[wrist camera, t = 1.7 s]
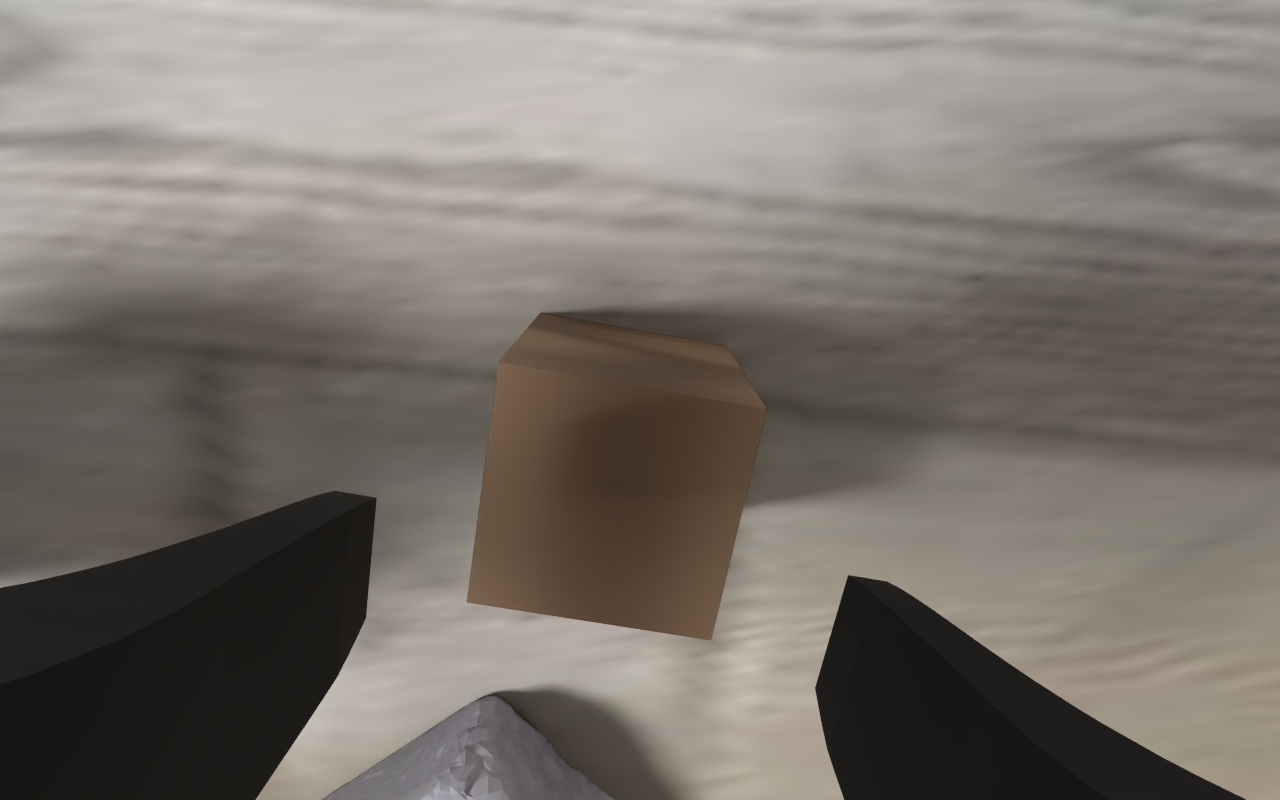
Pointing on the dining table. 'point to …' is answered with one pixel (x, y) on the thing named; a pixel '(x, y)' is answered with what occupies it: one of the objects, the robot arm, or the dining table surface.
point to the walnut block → (614, 477)
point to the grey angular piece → (474, 763)
